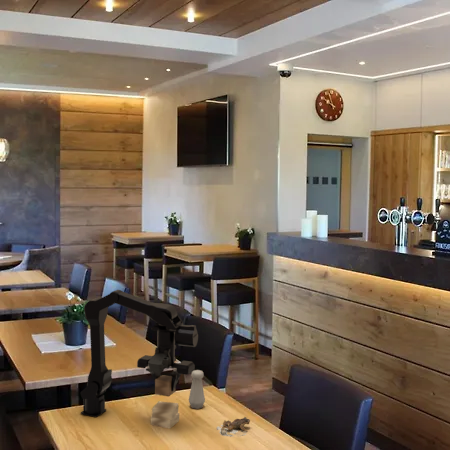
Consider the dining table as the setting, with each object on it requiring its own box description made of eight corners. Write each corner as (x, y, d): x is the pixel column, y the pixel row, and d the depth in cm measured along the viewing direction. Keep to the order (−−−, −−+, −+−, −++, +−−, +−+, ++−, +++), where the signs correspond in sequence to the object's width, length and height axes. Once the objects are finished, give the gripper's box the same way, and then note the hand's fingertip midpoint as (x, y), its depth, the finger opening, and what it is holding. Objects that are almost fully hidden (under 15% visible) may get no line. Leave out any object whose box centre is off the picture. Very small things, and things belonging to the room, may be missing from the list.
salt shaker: (202, 410, 215) (203, 374, 214) (186, 408, 216) (187, 373, 215) (206, 404, 220) (207, 369, 219) (191, 402, 221) (191, 367, 220)
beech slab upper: (151, 417, 201) (151, 408, 200) (158, 409, 207) (158, 401, 207) (172, 419, 199) (172, 410, 199) (178, 411, 206) (178, 403, 206)
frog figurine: (245, 421, 207) (246, 410, 207) (256, 436, 196) (256, 425, 195) (212, 424, 204) (213, 413, 204) (221, 439, 193) (221, 427, 193)
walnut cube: (155, 394, 201) (155, 379, 201) (161, 389, 206) (162, 375, 205) (168, 396, 199) (168, 381, 199) (175, 391, 204) (175, 377, 204)
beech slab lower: (150, 425, 201) (150, 416, 201) (160, 418, 208) (160, 409, 208) (169, 429, 199) (169, 420, 199) (179, 421, 205) (179, 413, 205)
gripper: (128, 346, 197) (128, 393, 198) (181, 353, 190) (180, 402, 192) (145, 338, 207) (145, 383, 209) (195, 344, 201) (194, 391, 202)
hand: (165, 389), depth 202 cm, fingers closed on walnut cube, 5 cm apart
